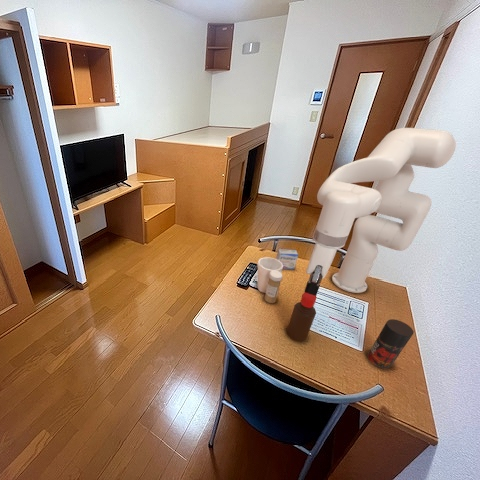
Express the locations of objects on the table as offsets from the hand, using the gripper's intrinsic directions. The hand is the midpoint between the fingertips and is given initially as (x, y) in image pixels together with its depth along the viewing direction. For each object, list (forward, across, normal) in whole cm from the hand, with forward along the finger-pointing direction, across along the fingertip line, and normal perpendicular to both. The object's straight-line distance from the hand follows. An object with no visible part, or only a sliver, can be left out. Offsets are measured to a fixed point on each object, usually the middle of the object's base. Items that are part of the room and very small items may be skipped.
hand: (312, 287), depth 79 cm
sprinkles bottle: (+22, -12, -13) cm, 28 cm away
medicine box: (+22, -38, -14) cm, 46 cm away
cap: (+7, 0, 0) cm, 7 cm away
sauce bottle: (+22, 0, 0) cm, 22 cm away
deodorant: (+22, -4, +23) cm, 32 cm away
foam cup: (+22, -18, -16) cm, 33 cm away
